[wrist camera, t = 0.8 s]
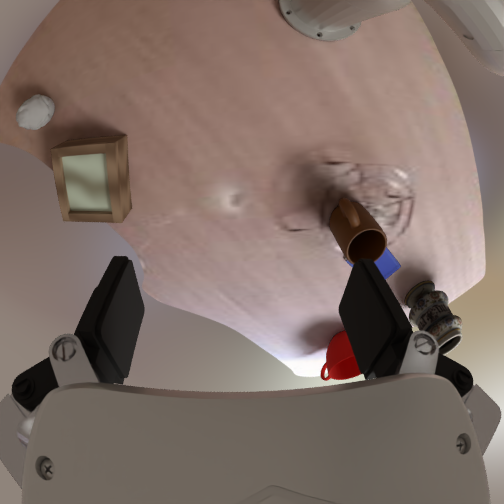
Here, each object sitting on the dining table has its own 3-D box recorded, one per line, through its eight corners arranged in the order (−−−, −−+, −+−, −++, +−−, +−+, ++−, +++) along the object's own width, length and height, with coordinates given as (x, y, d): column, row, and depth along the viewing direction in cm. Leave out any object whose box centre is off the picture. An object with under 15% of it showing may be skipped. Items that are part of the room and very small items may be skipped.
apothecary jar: (393, 303, 62) (420, 359, 48) (425, 270, 57) (461, 324, 42) (414, 314, 67) (439, 363, 52) (443, 285, 61) (474, 334, 46)
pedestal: (67, 140, 35) (50, 149, 31) (127, 135, 36) (114, 142, 32) (76, 207, 42) (63, 221, 38) (132, 207, 44) (122, 222, 39)
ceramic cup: (301, 351, 71) (307, 382, 63) (345, 316, 64) (357, 349, 56) (331, 361, 76) (338, 388, 68) (373, 330, 69) (384, 358, 60)
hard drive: (345, 261, 52) (374, 288, 57) (376, 235, 49) (401, 266, 54) (343, 257, 53) (371, 284, 58) (373, 231, 50) (398, 262, 55)
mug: (310, 193, 44) (326, 221, 37) (348, 172, 42) (372, 195, 34) (337, 242, 50) (353, 274, 43) (371, 224, 48) (392, 253, 41)
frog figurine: (35, 94, 28) (10, 101, 23) (63, 89, 29) (39, 94, 24) (35, 126, 32) (11, 137, 26) (62, 123, 33) (39, 132, 27)
